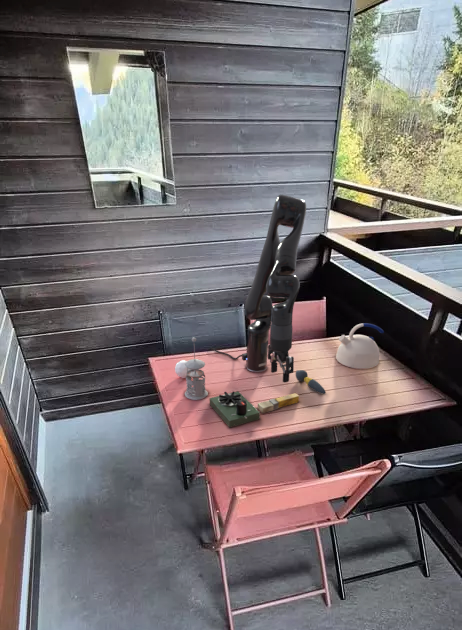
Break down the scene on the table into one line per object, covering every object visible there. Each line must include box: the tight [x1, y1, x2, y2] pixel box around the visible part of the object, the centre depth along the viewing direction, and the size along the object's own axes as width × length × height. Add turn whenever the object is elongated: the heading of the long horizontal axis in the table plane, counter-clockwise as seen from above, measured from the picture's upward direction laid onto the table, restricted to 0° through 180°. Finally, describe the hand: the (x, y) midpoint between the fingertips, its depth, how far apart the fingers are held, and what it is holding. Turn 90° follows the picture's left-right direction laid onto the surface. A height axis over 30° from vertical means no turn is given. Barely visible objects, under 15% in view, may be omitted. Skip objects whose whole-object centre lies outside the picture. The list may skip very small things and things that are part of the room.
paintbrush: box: [295, 369, 327, 395], centre depth 189 cm, size 20×5×5 cm, turn 38°
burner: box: [218, 391, 241, 407], centre depth 174 cm, size 9×9×2 cm
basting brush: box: [257, 392, 300, 414], centre depth 177 cm, size 17×4×3 cm, turn 117°
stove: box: [208, 390, 261, 428], centre depth 172 cm, size 19×13×3 cm
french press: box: [184, 337, 209, 401], centre depth 178 cm, size 10×12×25 cm
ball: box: [174, 359, 192, 379], centre depth 194 cm, size 8×8×8 cm
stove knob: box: [236, 400, 247, 416], centre depth 166 cm, size 4×4×5 cm
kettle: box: [335, 322, 385, 370], centre depth 206 cm, size 20×21×18 cm
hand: (279, 376), depth 160 cm, fingers open, 8 cm apart
